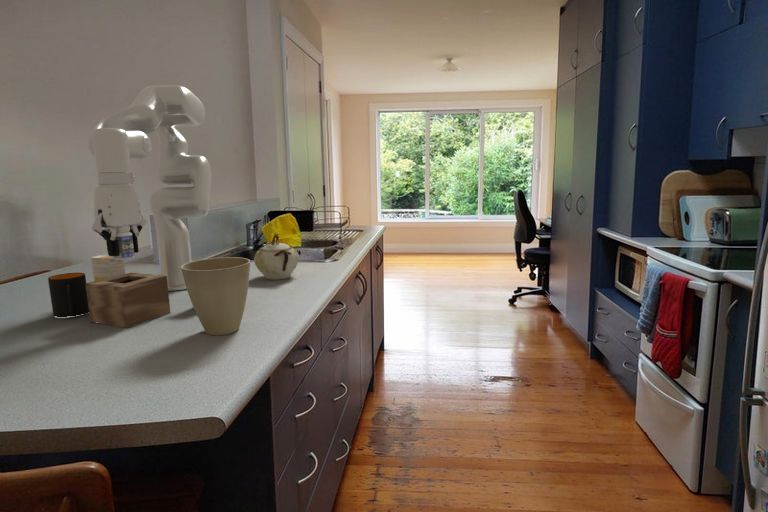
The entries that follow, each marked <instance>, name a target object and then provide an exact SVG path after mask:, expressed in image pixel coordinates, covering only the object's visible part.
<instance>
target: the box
mask: <svg viewBox="0 0 768 512" xmlns="http://www.w3.org/2000/svg"><path fill="white" fill-rule="evenodd" d="M85 284H86V291H87V298H88V306H89V313H88V314H89V320H90V323H91V322H98V323H103V324H102V325H105V324H108V325H107V326H111V325H115V326H114V327H118V326H120V328H125V327H126V328H127V329H128V327H129V328H131V327H135V326H137V324H138V325H140V324H143V323H146V322H148V321H151V320H154V319H158V318H161V317H163V316H166V315H169V314H171V304H170V297H169V296H170V294H169V291H168V284H167V276H163V275H157V274H152V273H151V274H150V273H140V272H139V273H138V272H128V273H125V274H123V275H119V276H115V277H110V278H106V279H102V280H97V281H94V280H93V281H89V282H86V283H85ZM98 323H97V324H98ZM126 328H125V329H126Z"/></svg>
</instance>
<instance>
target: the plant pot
mask: <svg viewBox="0 0 768 512" xmlns="http://www.w3.org/2000/svg"><path fill="white" fill-rule="evenodd" d="M250 269H251V260H250V259H248V258H245V257H237V256H234V257H233V256H226V257H225V256H224V257H223V256H221V257H211V258H204V259H198V260H192V262H189V263H186V264H184V265H182V266H181V270H182V274H183V277H184V281H185V284H186V288H187V289H186V291H187V293H188V295H189V296H188V297H189V299H190V302H191V304H192V307H193V309H194V311H195V314H196V315H197V316H196V317H197V318H198V320H199V322H200V324H201V326H202V328H203V329H204V332H205V333H206V334H207V335H210V336H224V335H225V336H226V335H229V334H233V333H235V332H238V330H239V329H240V327H241V322H242V320H243V316H244V313H245V308H246V304H247V303H246V302H247V296H248V289H249V283H250Z"/></svg>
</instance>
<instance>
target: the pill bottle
mask: <svg viewBox="0 0 768 512" xmlns="http://www.w3.org/2000/svg"><path fill="white" fill-rule="evenodd" d="M129 231H130V226H129V225H127V226H122V227H117V229H116V238H115V240H118V245H119V254H120V255H119V256H113V258H114V260H124V261H126V260H133V259H134V258H135V253H134V246H133V237H132V233H131V232H129Z"/></svg>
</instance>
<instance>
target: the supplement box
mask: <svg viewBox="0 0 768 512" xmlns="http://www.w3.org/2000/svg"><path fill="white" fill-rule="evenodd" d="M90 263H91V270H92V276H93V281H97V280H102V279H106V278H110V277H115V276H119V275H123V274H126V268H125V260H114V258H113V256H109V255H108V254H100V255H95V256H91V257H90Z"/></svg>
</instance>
